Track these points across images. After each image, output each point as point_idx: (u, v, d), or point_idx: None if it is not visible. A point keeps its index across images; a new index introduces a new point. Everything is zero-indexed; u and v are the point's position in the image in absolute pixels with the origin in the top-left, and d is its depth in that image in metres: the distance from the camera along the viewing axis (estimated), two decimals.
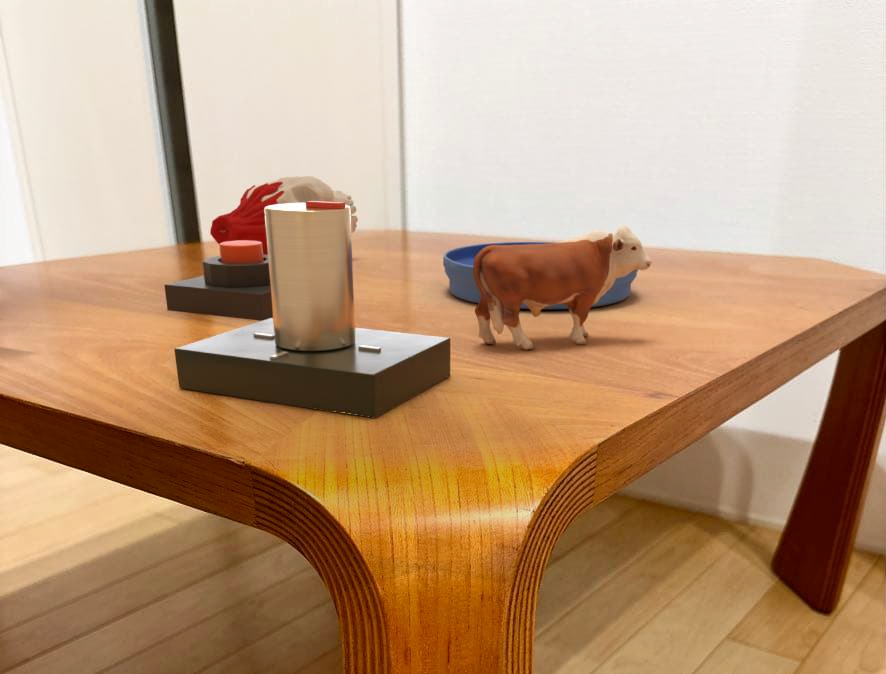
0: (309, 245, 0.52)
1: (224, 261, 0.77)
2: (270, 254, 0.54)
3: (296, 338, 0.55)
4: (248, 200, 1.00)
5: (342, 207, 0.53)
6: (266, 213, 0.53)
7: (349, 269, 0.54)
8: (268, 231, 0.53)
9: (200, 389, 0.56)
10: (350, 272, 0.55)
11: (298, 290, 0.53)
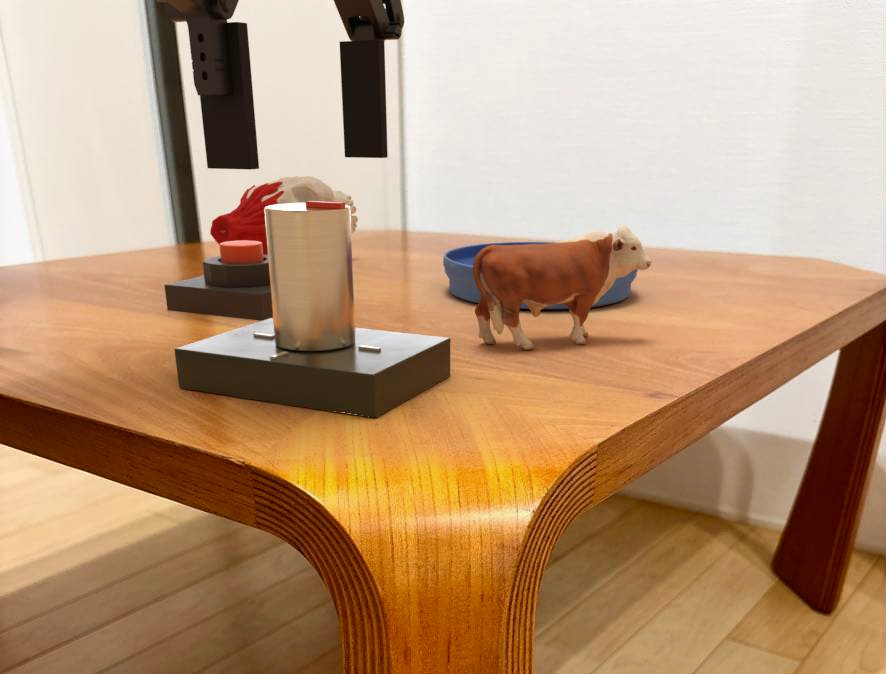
0: (309, 245, 0.52)
1: (224, 261, 0.77)
2: (270, 254, 0.54)
3: (296, 338, 0.55)
4: (248, 200, 1.00)
5: (342, 207, 0.53)
6: (266, 213, 0.53)
7: (349, 269, 0.54)
8: (268, 231, 0.53)
9: (200, 389, 0.56)
10: (350, 272, 0.55)
11: (298, 290, 0.53)
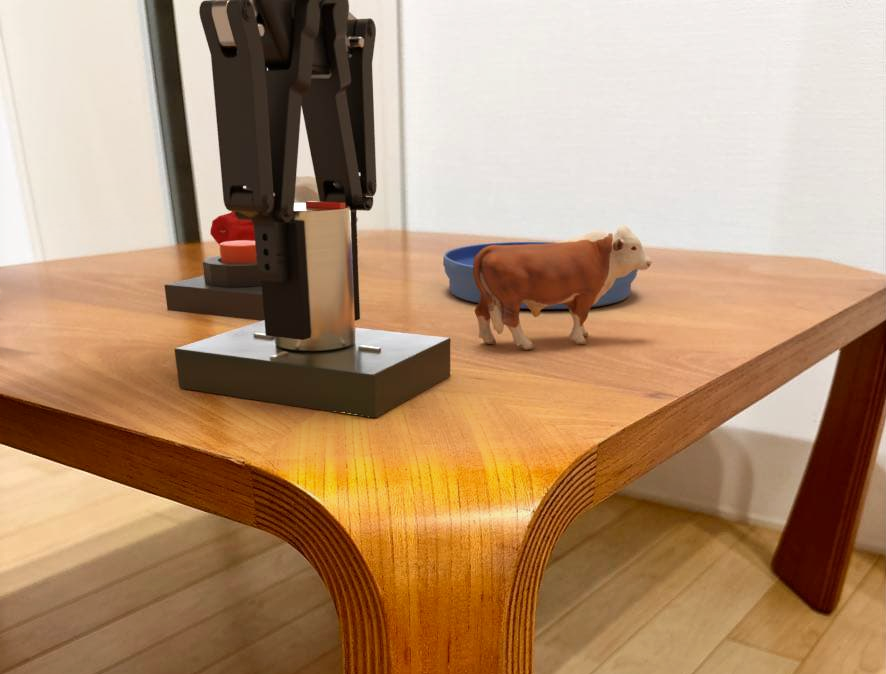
0: (309, 245, 0.52)
1: (224, 261, 0.77)
2: None
3: None
4: None
5: (342, 207, 0.53)
6: None
7: (349, 269, 0.54)
8: None
9: (200, 389, 0.56)
10: (350, 272, 0.55)
11: None
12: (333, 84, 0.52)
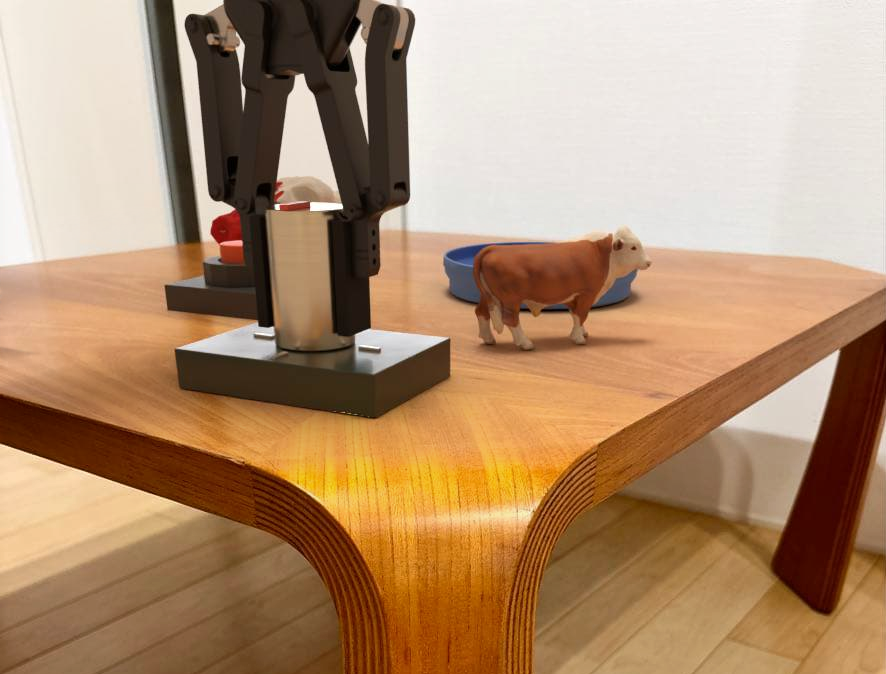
0: None
1: (224, 261, 0.77)
2: None
3: None
4: None
5: (282, 209, 0.52)
6: None
7: (293, 273, 0.53)
8: None
9: (200, 389, 0.56)
10: (296, 277, 0.53)
11: None
12: None
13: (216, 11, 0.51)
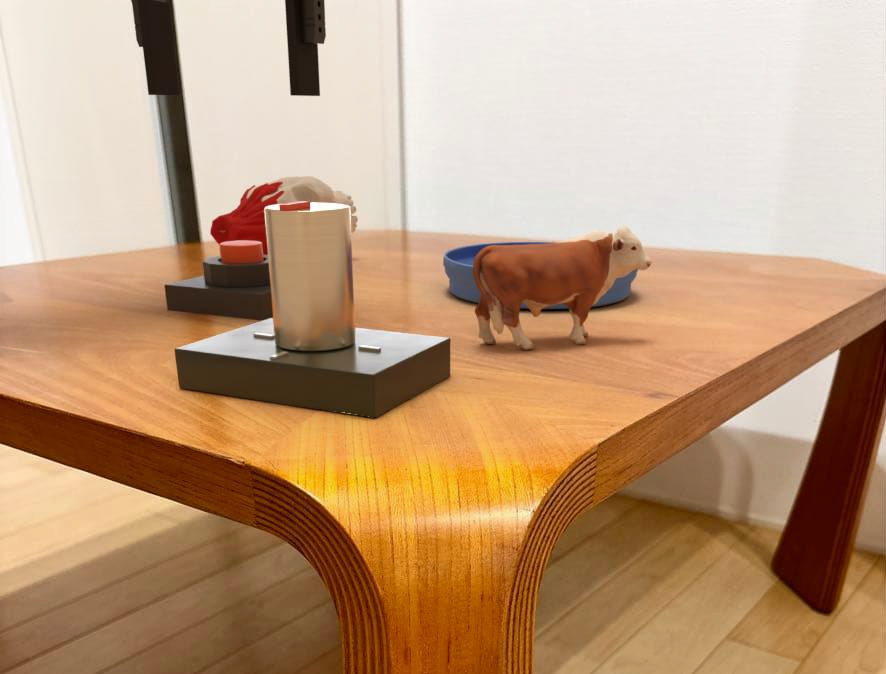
0: None
1: (224, 261, 0.77)
2: None
3: None
4: (248, 200, 1.00)
5: (282, 209, 0.52)
6: None
7: (293, 273, 0.53)
8: None
9: (200, 389, 0.56)
10: (296, 277, 0.53)
11: None
12: None
13: None
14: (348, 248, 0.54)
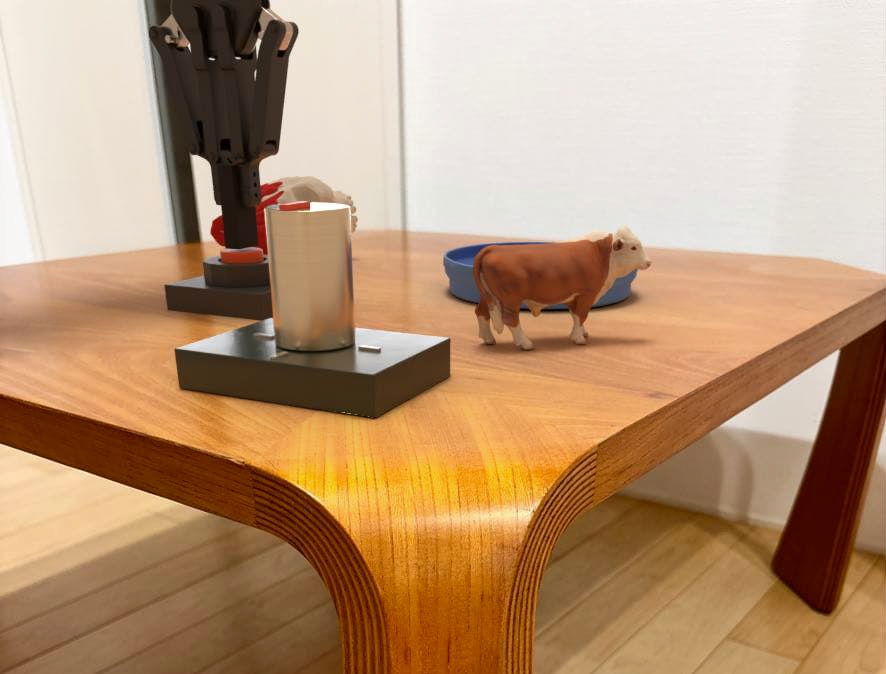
0: None
1: None
2: None
3: None
4: None
5: (282, 209, 0.52)
6: None
7: (293, 273, 0.53)
8: None
9: (200, 389, 0.56)
10: (296, 277, 0.53)
11: None
12: None
13: (168, 20, 0.72)
14: (348, 248, 0.54)
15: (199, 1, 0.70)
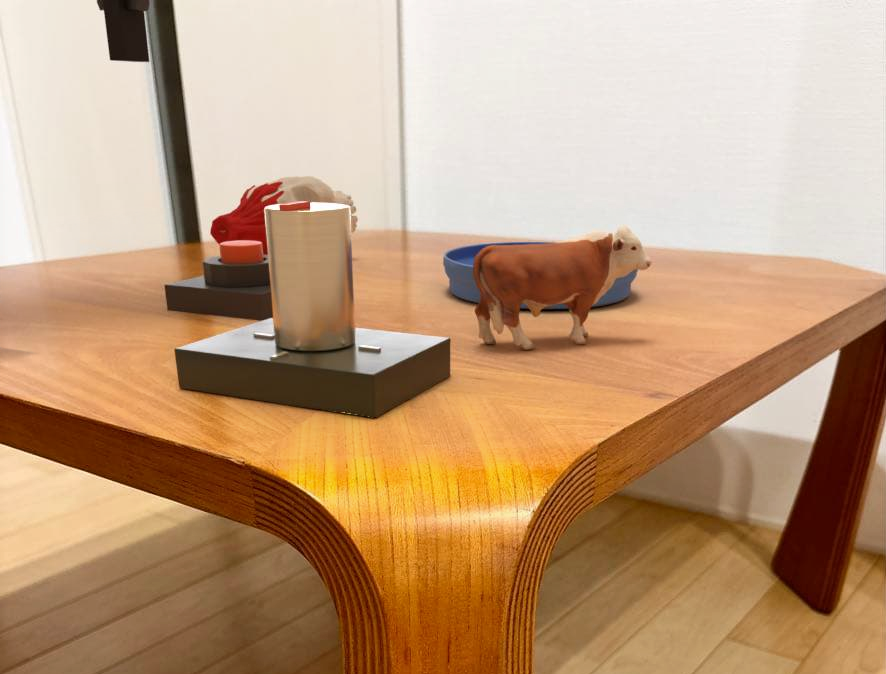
0: None
1: (224, 261, 0.77)
2: None
3: None
4: (248, 200, 1.00)
5: (282, 209, 0.52)
6: None
7: (293, 273, 0.53)
8: None
9: (200, 389, 0.56)
10: (296, 277, 0.53)
11: None
12: None
13: None
14: (348, 248, 0.54)
15: None
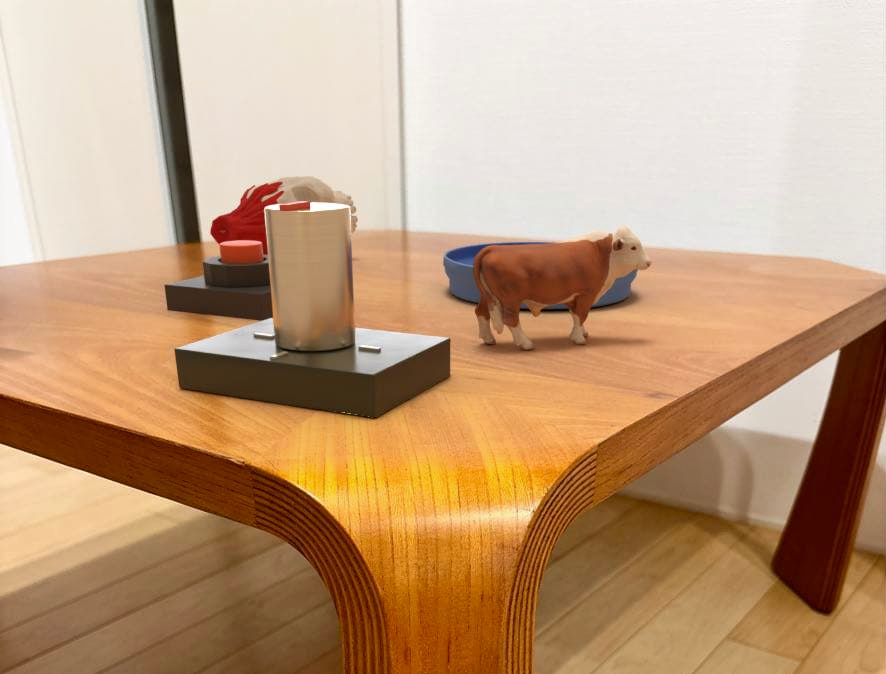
0: None
1: (224, 261, 0.77)
2: None
3: None
4: (248, 200, 1.00)
5: (282, 209, 0.52)
6: None
7: (293, 273, 0.53)
8: None
9: (200, 389, 0.56)
10: (296, 277, 0.53)
11: None
12: None
13: None
14: (348, 248, 0.54)
15: None
